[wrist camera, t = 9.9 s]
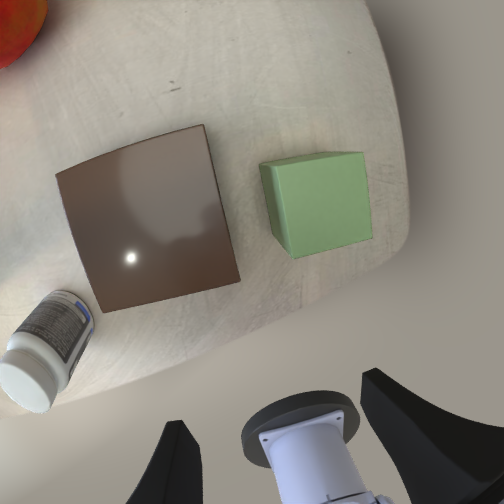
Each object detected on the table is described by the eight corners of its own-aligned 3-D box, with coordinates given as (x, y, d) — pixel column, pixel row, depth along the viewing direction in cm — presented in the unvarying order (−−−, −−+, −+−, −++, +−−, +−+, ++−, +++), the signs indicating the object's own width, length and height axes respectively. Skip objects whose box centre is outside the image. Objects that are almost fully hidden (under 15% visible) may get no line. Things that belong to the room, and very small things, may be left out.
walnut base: (234, 256, 18) (241, 282, 15) (120, 284, 18) (102, 314, 14) (205, 131, 16) (203, 123, 12) (84, 169, 15) (54, 174, 11)
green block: (338, 219, 19) (373, 238, 14) (272, 235, 18) (292, 259, 14) (328, 151, 17) (363, 151, 13) (258, 163, 17) (275, 166, 12)
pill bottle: (37, 289, 17) (-22, 351, 9) (86, 288, 18) (33, 362, 10) (54, 340, 18) (12, 410, 11) (101, 343, 19) (68, 424, 11)
